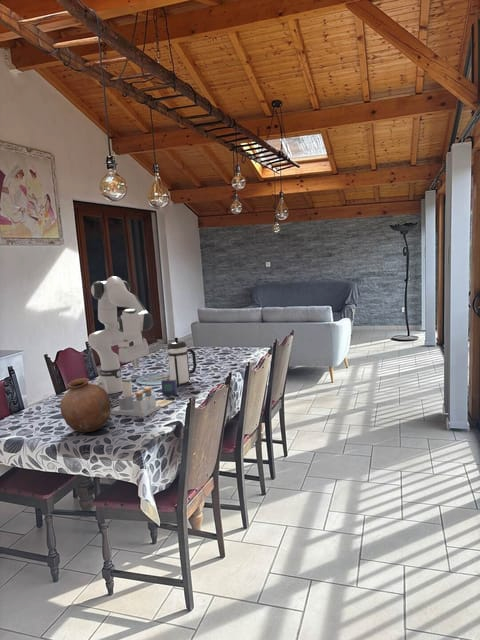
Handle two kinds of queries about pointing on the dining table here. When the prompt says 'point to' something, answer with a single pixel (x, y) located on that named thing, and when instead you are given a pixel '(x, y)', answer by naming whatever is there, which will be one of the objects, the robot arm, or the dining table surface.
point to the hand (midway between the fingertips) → (136, 367)
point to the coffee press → (180, 361)
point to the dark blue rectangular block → (169, 387)
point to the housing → (136, 406)
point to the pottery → (85, 406)
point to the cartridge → (127, 388)
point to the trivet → (163, 403)
